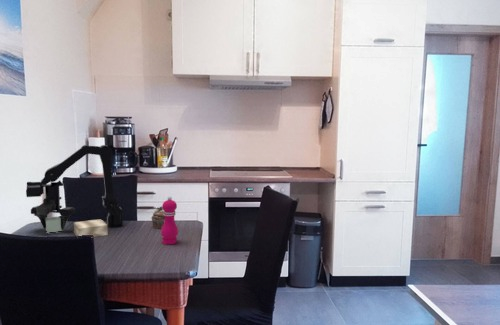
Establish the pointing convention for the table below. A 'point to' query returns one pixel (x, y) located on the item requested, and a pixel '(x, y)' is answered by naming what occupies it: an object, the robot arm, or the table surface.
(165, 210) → the pepper mill
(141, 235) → the table surface
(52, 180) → the robot arm
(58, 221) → the cube
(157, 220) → the cupcake
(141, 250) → the table surface
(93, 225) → the birch box
